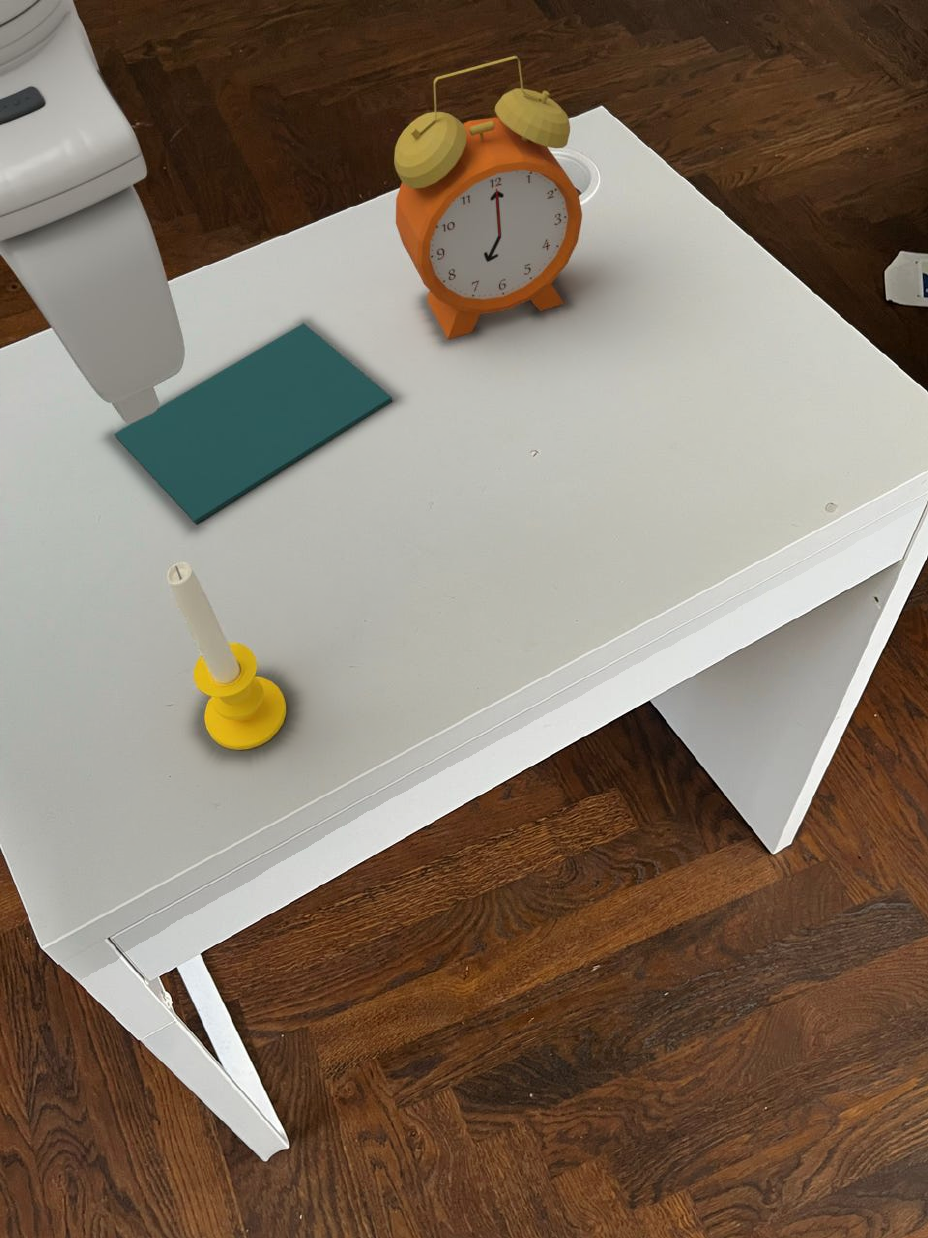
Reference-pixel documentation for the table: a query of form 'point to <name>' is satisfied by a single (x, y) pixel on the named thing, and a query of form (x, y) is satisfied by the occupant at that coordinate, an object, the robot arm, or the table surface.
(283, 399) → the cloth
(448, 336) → the alarm clock
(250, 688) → the candle
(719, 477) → the table surface
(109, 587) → the table surface
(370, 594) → the table surface
